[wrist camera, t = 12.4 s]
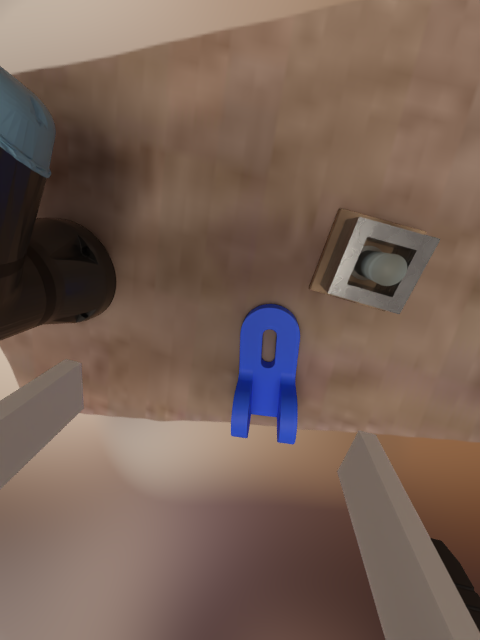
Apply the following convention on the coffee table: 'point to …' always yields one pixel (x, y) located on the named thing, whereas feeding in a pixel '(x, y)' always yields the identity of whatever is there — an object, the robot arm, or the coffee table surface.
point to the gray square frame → (404, 243)
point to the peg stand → (364, 258)
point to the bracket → (267, 373)
